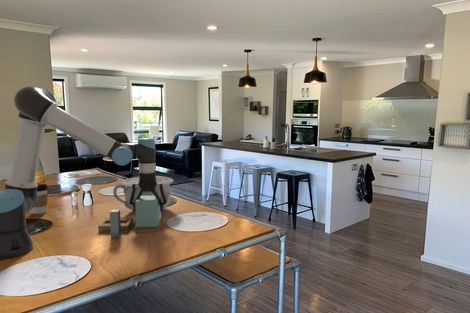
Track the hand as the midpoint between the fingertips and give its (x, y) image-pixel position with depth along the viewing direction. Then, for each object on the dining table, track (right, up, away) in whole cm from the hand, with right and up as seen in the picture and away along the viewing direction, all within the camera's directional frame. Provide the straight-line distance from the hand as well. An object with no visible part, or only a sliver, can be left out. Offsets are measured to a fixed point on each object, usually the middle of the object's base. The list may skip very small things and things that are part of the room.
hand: (148, 218), depth 157 cm
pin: (-11, -6, -12) cm, 17 cm away
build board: (-15, -4, -1) cm, 16 cm away
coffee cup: (-64, -1, +23) cm, 68 cm away
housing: (0, -2, 0) cm, 2 cm away
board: (0, -4, +1) cm, 4 cm away
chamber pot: (-7, -1, +26) cm, 27 cm away
